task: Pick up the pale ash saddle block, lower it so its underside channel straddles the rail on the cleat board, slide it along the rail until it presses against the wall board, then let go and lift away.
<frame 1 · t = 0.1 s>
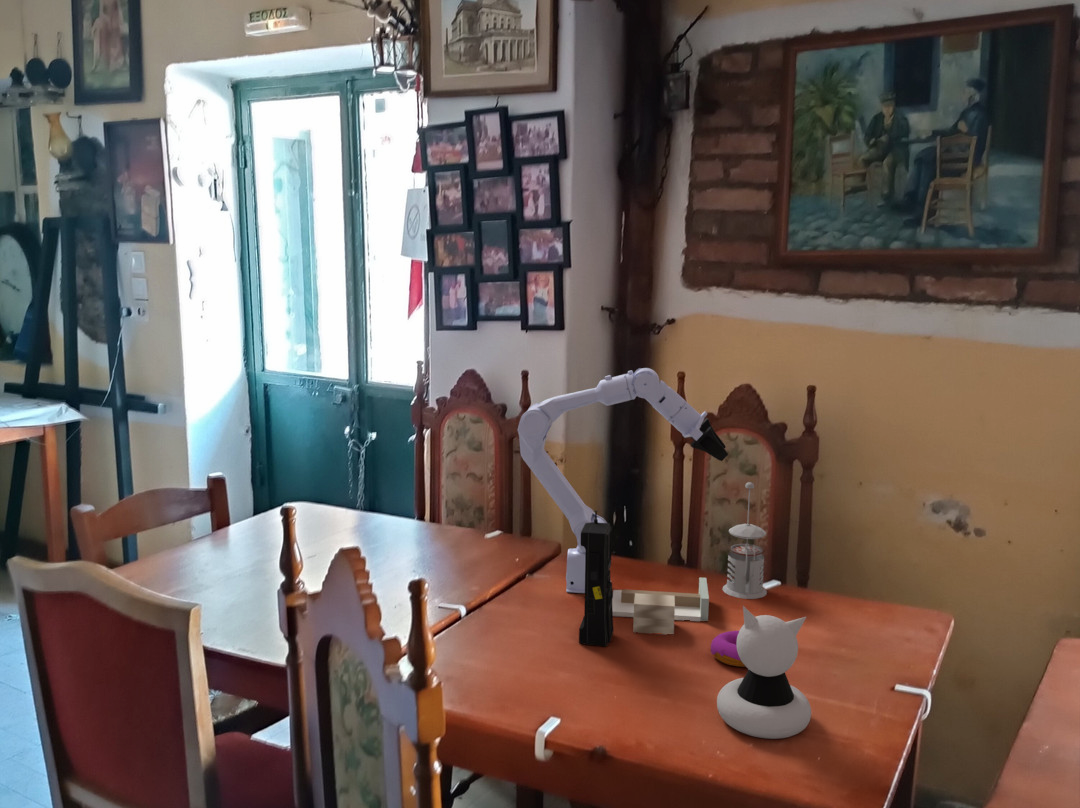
hand: (723, 453, 191), 32 cm above the table, tool tilted 50°, fingers open, 7 cm apart
french press: (745, 592, 199), on the table
portable radio: (596, 640, 173), on the table
saddle block: (653, 627, 179), on the table
cleat board: (658, 607, 189), on the table
donut: (738, 660, 166), on the table
decorative figurine: (762, 721, 144), on the table
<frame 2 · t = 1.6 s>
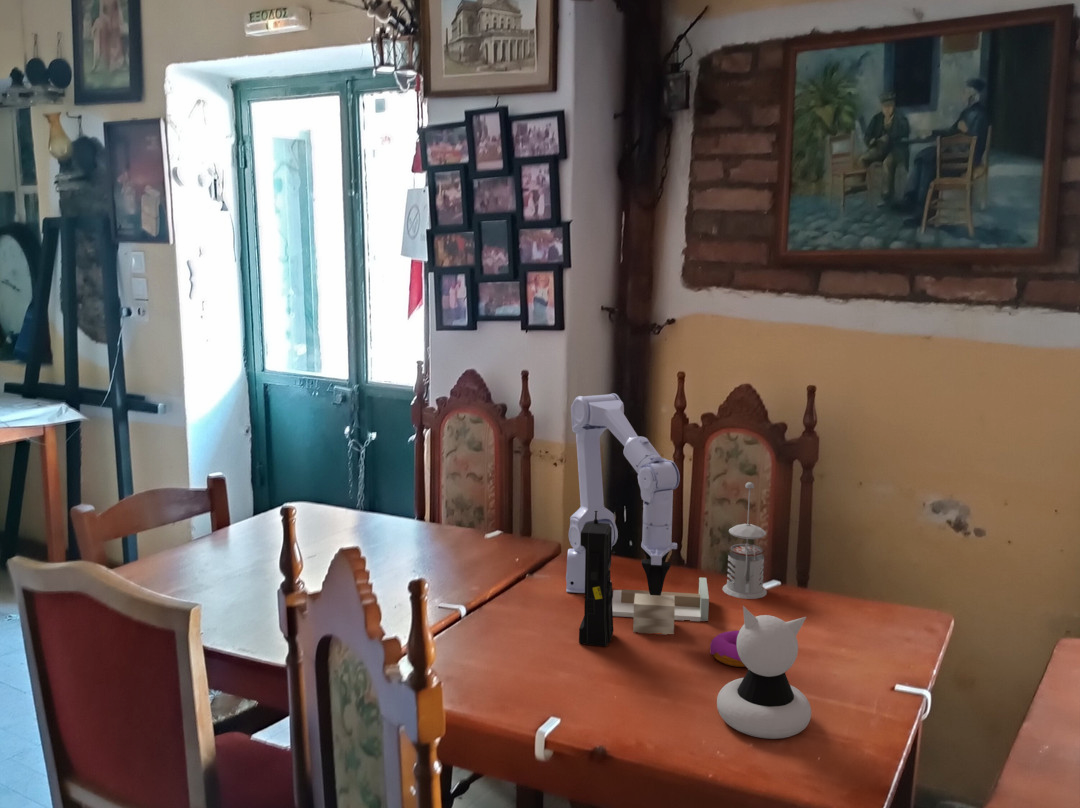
hand: (655, 587, 178), 8 cm above the table, tool pointing down, fingers open, 7 cm apart
nothing on the table moved.
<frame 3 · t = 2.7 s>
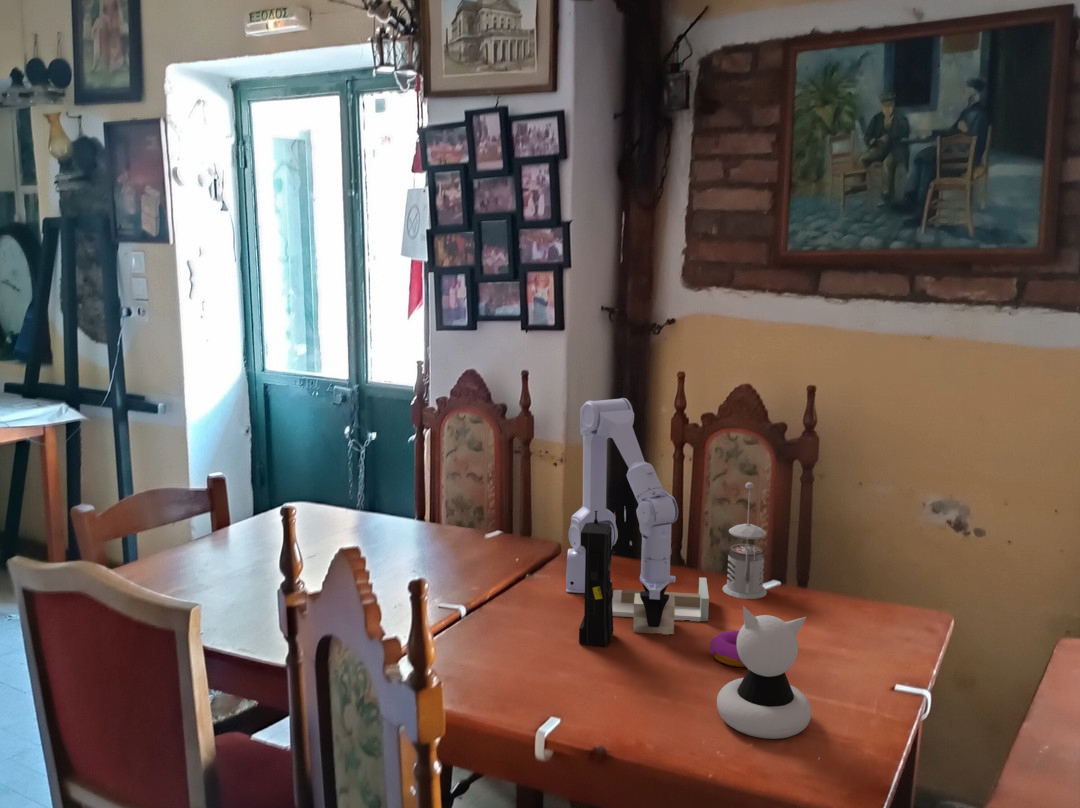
hand: (653, 620, 179), 2 cm above the table, tool pointing down, fingers closed on saddle block, 6 cm apart
saddle block: (653, 627, 179), on the table, touching gripper
everything else where it was.
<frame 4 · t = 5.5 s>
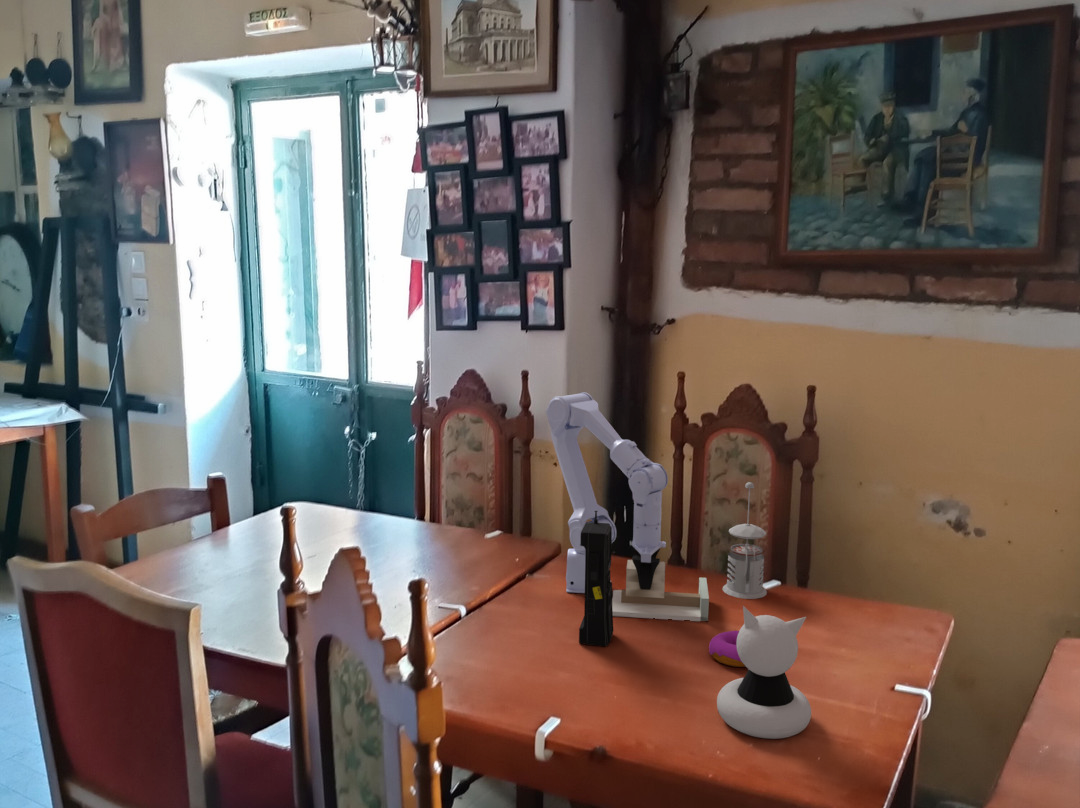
hand: (645, 583, 189), 5 cm above the table, tool pointing down, fingers closed on saddle block, 6 cm apart
saddle block: (645, 592, 189), point 3 cm above the table, touching gripper
everything else where it was.
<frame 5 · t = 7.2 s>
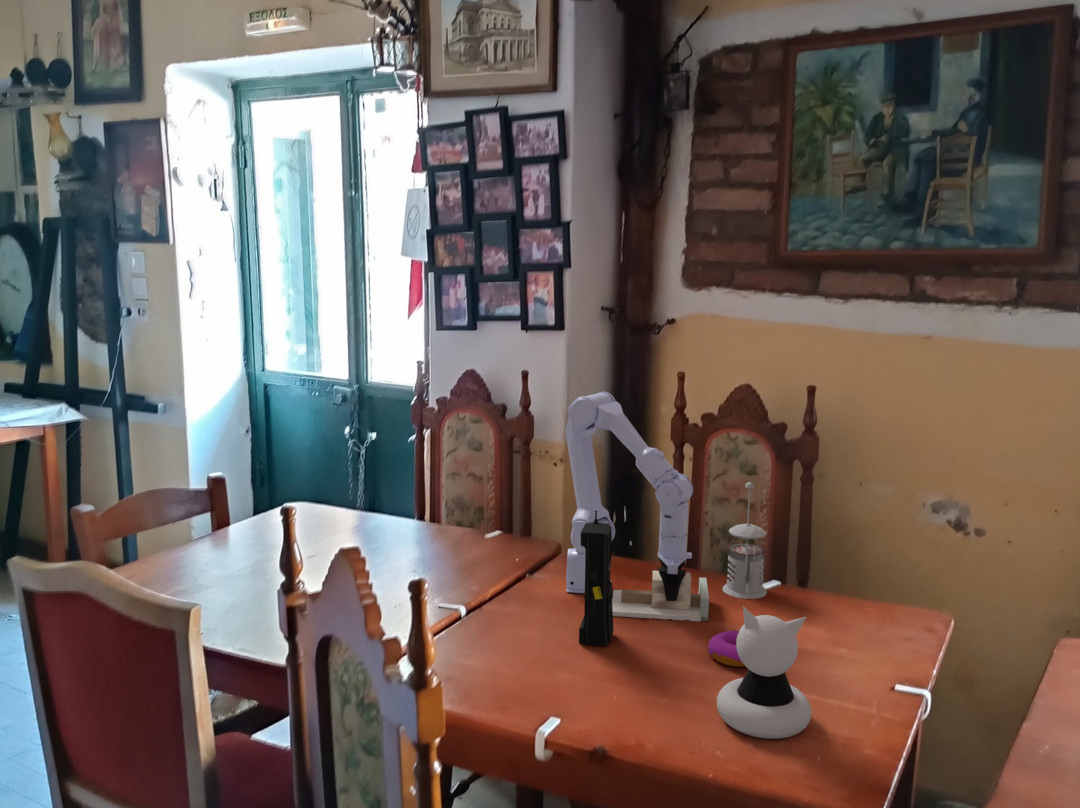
hand: (671, 594, 188), 3 cm above the table, tool pointing down, fingers closed on saddle block, 6 cm apart
saddle block: (670, 603, 189), point 1 cm above the table, touching gripper
everything else where it was.
when the fingers open (3 cm above the table, at t = 8.3 s): saddle block stays where it is, resting on cleat board.
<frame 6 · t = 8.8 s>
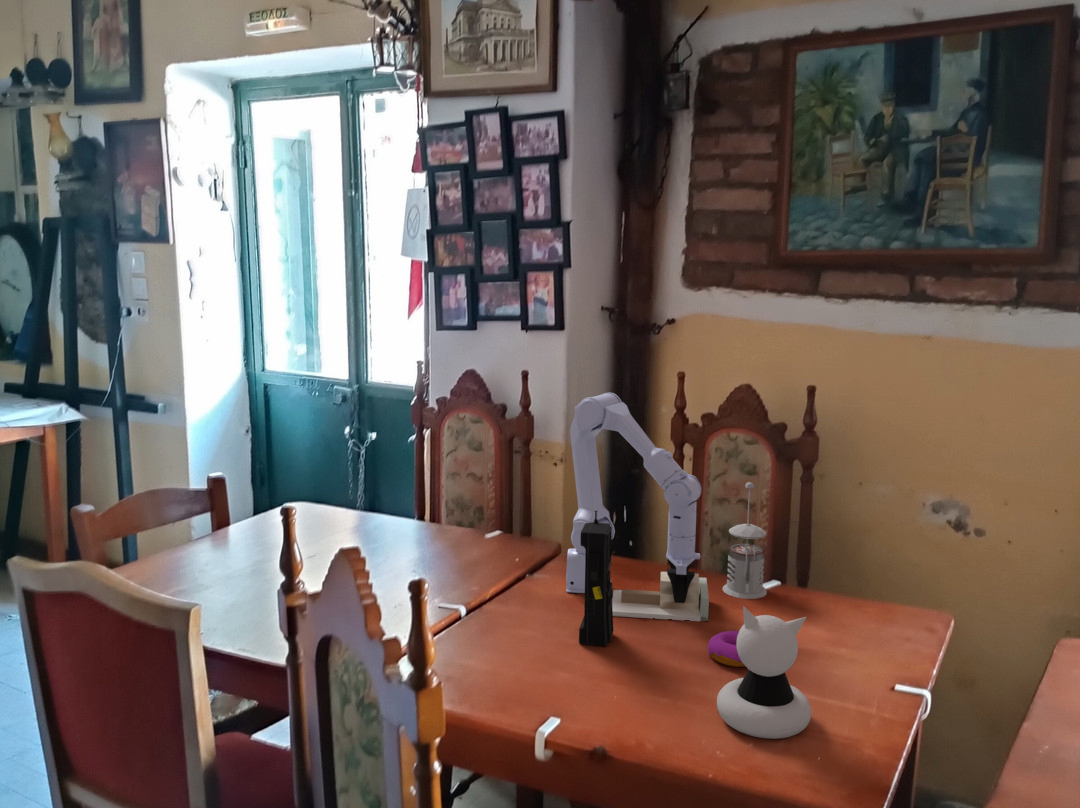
hand: (679, 595, 188), 3 cm above the table, tool pointing down, fingers open, 7 cm apart
saddle block: (678, 604, 189), point 1 cm above the table, touching cleat board
everything else where it was.
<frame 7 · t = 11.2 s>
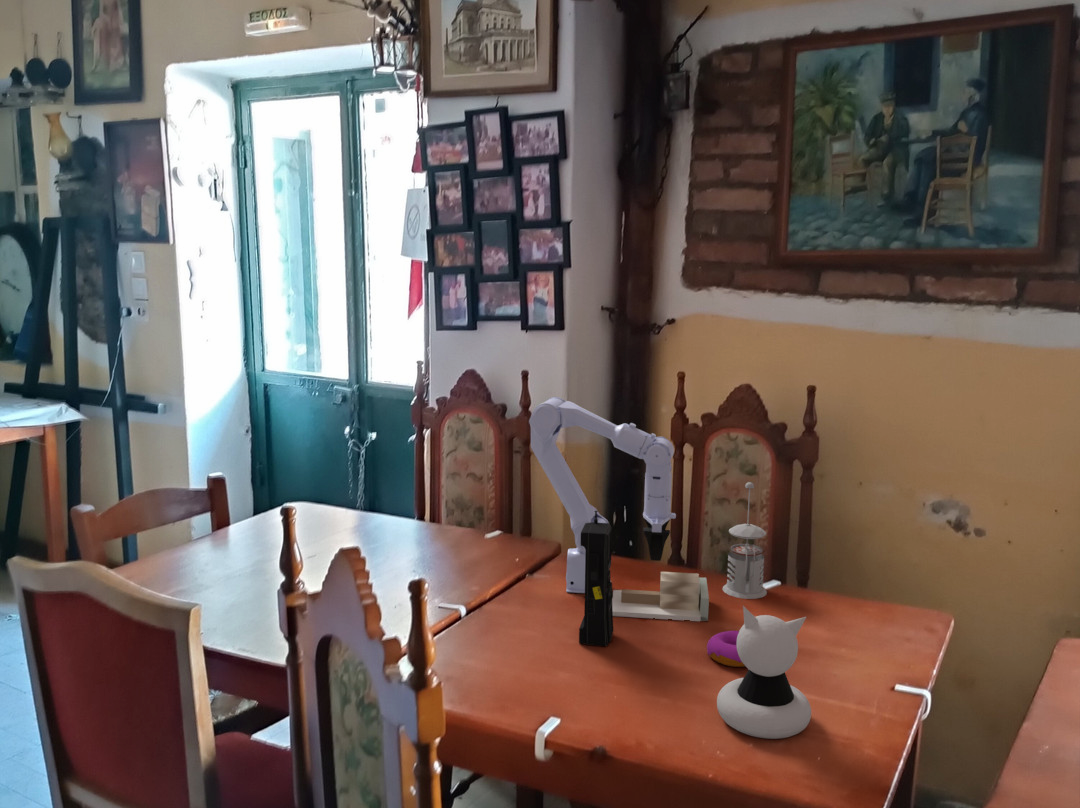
hand: (655, 554, 195), 9 cm above the table, tool pointing down, fingers open, 7 cm apart
nothing on the table moved.
at the end: saddle block 0.0 cm from the target spot on the cleat board, point 1.0 cm above the cleat board's base; saddle block tilted 0°; the gripper is holding nothing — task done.
